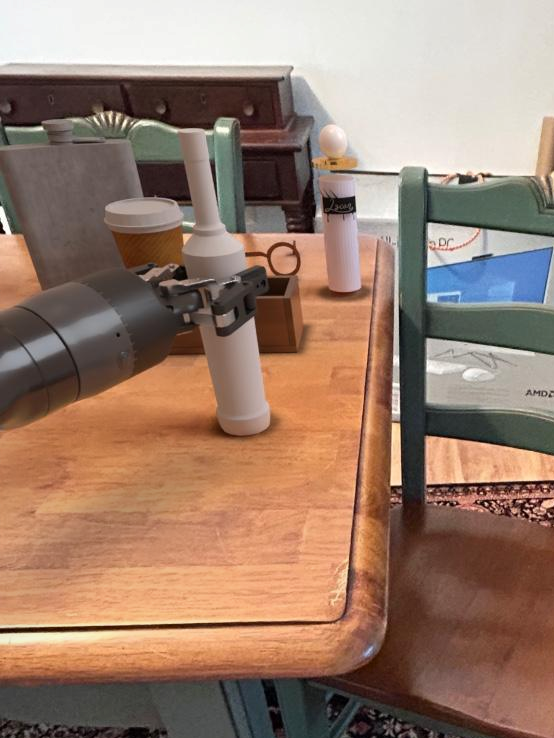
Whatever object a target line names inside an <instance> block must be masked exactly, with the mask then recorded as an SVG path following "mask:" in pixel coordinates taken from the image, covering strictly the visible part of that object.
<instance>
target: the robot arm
mask: <svg viewBox="0 0 554 738" xmlns="http://www.w3.org/2000/svg"><path fill="white" fill-rule="evenodd" d="M267 276H268V274H267V269H266V267H265V266H264V265H259V264H255V265H253V266H250V267H247V269H246V270H243V271H241V272H239V273H236V274H234V275H232V276H229V277H225V278H221V279H216V280H214V279H212V278H210V277H209V276H200V277H196V278H192V279H188V276H187V272H186V268H185V264H182V265H177V264H168V265H166V266H164V267H163V268H159V266H158V264H157V263H152V262H151V263H147V264H144V265H141V266H137V267H133V268H129V269H124V268H120V267H110V268H106V269H104V270H101V271H98V272H95V273H92V274H90V275H87V276H84V277H81V278H79V279H76V280H73V281H70V282H67V283H65V284H62V285H59V286H56V287H54V288H51V289H48V290H45V291H42V290H41V291H40V292H38V293H35V294H33V295H31V296H30V297H28V298H26V299H24V300H22V301H21V302H19V303H17V304H15V305H12V306H11V307H8V308H5V309H3V310H0V431H1V432H7V431H8V432H9V431H13V430H14V431H15V430H17V429H21V428H24V427H26V426H29V425H32V424H33V423H35V422H38V421H40V420H42V419H44V418H46V417H48V416H50V415H52V414H54V413H57V412H58V411H60V410H62V409H64V408H66V407H68V406H70V405H72V404H74V403H77V402H80V401H83V400H86V399H90V398H93V397H95V396H98V395H100V394H102V393H104V392H106V391H108V390H111V389H112V388H114V387H116V386H118V385H120V384H122V383H125V382H126V381H128V380H130V379H132V378H134V377H136V376H138V375H140V374H142V373H144V372H146V371H148V370H150V369H152V368H154V367H156V366H158V365H160V364H161V363H163V362H164V361H165V360H166V359H167V358H168V357H169V355H170V354H169V353H170V351H171V348H172V345H173V342H174V340H175V338H176V336H177V335H182V334H186V333H190V332H192V331H193V330H196V329H197V328H199V327H200V326H204V325H210V326H214V327H215V332H216V335H217V336H219V337H226V336H229V335H231V334H232V333H234V332H235V331H236V330H237V329H239V328H240V327H241V326H242V325H244V324H245V323H246V322H248V321H249V320H250V319H251V318H253V317H254V316H255V315H256V314H258V311H257V304H256V298H255V297H257V296H259V295H261V294H263V293H266V292H267V291H268V289H269V286H268V280H267ZM200 288H204V293H205V298H206V303H207V308H204V304H203V299H202V295H201V292H200V291H199V290H198V289H200ZM226 288H228V291H227V292H225V293H224V294H222V295H221V296H220V295H219V292H220V290H222V289H226Z"/></svg>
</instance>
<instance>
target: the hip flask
mask: <svg viewBox="0 0 554 738" xmlns="http://www.w3.org/2000/svg"><path fill="white" fill-rule="evenodd" d="M73 121H74V120H72V119H68V118H67V119H66V118H57V119H46V120H43V121H41V122H40V123H41V126H42V130H43V131H45V132H46V131H47V133H46V135H47V140H48V141H49V142H47V141H46V142H34V143H21V144H10V145H8V144H7V145H1V146H0V173H1V175H2V180H3V182H4V184H5V188H6V190H7V194H8V196H9V198H10V199H9V200H10V201H11V205H12V207H13V210H14V213H15V216H16V219H17V222H18V226H19V228H20V231H21V234H22V237H23V240H24V242H25V245H26V248H27V251H28V255H29V257H30V260H31V263H32V266H33V268H34V272H35V274H36V277H37V280H38V283H39V286H40V289H41V292H42V291H45V290H48V289H51V288H54V287H56V286H59V285H62V284H65V283H67V282H70V281H73V280H76V279H79V278H81V277H84V276H87V275H90V274H92V273H95V272H98V271H101V270H104V269H106V268H110V267H120V268H124V269H126V267H125V264H124V262H123V260H122V257H121V254H120V252H119V249H118V247H117V244H116V242H115V239H114V237H113V234H112V232H111V230H110V229H109V228H108V225H107V224H106V223H105V222H104V218H105V217H106V215H105V207H106V206H107V205H109V204H111V203H114V202H117V201H121V200H126V199H134V198H145V197H144V192H143V189H142V184H141V180H140V176H139V172H138V168H137V163H136V159H135V155H134V151H133V147H132V143H131V140H130V139H127V138H109V139H108V138H107V139H106V137H104V136H103V137H102V136H101V137H99V136H98V137H97V136H76V133H74V132H73V130H74V129H75V124H74V122H73Z"/></svg>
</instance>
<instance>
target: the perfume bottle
mask: <svg viewBox="0 0 554 738" xmlns="http://www.w3.org/2000/svg"><path fill="white" fill-rule="evenodd" d="M317 140H318V147H319V149H320V151H321V153H322V154H323V155H322V156H319V157H314V158H312V159H311V167H312V168H314V169H317V170H323V171H346V170H351V169H355V168H357V167H358V166H359V161H358V158H356V157H353V156H347V155H345V154H346V152H347V151H348V148H349V147H348V146H349V140H348V135H347V134H346V131H345V130H344V129H343V128H342V127H341V126H339V125H337V124H334V123H329V124H327V125H325V126H324V127H322V129H320V132H319V133H318V138H317ZM317 180H318V190H319V201H320V212H321V221H322V231H323V242H324V252H325V253H324V254H325V262H326V263H325V264H326V273H327V284H328V289H329V290H330V291H333V292H337V293H350V292H356V291H358V290H360V289H362V275H361V274H362V273H361V262H360V261H361V260H360V246H359V231H358V217H357V199H356V188H355V177H354V176H352V175H349V174H338V173H337V174H335V173H334V174H325V175H321V176H319V177H318V179H317Z"/></svg>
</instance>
